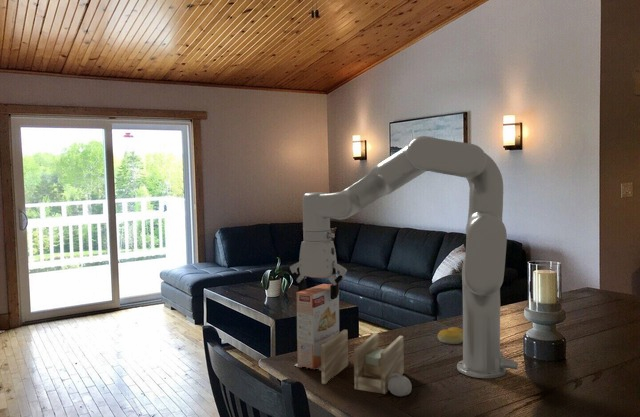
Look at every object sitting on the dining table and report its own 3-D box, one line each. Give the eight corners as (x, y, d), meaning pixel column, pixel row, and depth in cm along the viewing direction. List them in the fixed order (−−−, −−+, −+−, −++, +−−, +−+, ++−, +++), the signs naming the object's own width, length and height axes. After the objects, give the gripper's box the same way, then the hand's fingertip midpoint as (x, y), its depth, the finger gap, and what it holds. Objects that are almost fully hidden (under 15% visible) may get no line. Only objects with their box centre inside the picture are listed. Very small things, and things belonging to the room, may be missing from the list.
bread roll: (432, 340, 177) (432, 327, 177) (453, 335, 181) (453, 323, 181) (451, 346, 170) (451, 333, 169) (472, 341, 174) (472, 329, 174)
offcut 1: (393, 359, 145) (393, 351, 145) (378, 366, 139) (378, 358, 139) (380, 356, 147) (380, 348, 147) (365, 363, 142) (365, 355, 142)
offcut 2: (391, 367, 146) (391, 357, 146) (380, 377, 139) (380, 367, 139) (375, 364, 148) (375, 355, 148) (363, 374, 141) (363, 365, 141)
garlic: (383, 396, 134) (382, 374, 134) (393, 388, 139) (392, 367, 138) (406, 401, 131) (405, 379, 130) (415, 393, 135) (415, 372, 135)
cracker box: (314, 370, 151) (313, 294, 150) (296, 366, 154) (294, 291, 153) (341, 355, 163) (339, 284, 161) (323, 352, 166) (322, 282, 165)
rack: (403, 373, 149) (403, 336, 148) (385, 393, 135) (384, 353, 134) (344, 364, 156) (344, 329, 155) (321, 383, 143) (320, 345, 142)
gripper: (350, 236, 156) (351, 296, 157) (295, 234, 163) (297, 292, 165) (339, 239, 149) (341, 302, 150) (283, 237, 157) (285, 297, 158)
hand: (318, 297), depth 157 cm, fingers open, 9 cm apart
